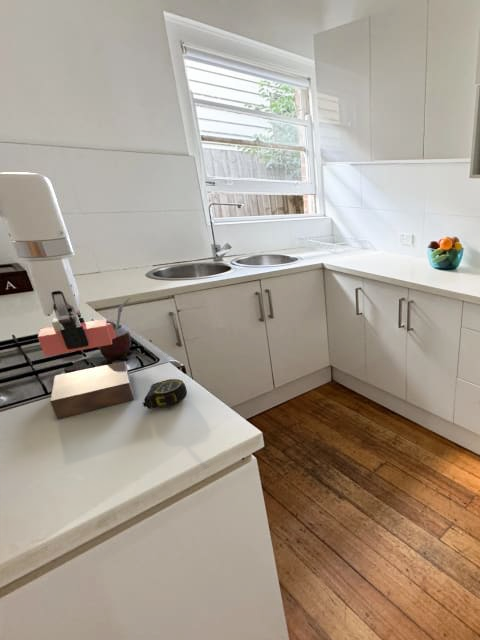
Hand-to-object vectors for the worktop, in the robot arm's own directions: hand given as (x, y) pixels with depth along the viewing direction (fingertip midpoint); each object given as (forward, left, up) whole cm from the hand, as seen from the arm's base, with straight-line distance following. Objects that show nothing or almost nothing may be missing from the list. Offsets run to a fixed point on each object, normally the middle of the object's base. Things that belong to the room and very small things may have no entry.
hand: (78, 341), depth 75 cm
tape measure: (+11, -11, -13) cm, 20 cm away
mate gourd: (+5, +19, -13) cm, 23 cm away
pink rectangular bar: (0, 0, -1) cm, 1 cm away
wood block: (0, 0, -12) cm, 12 cm away
